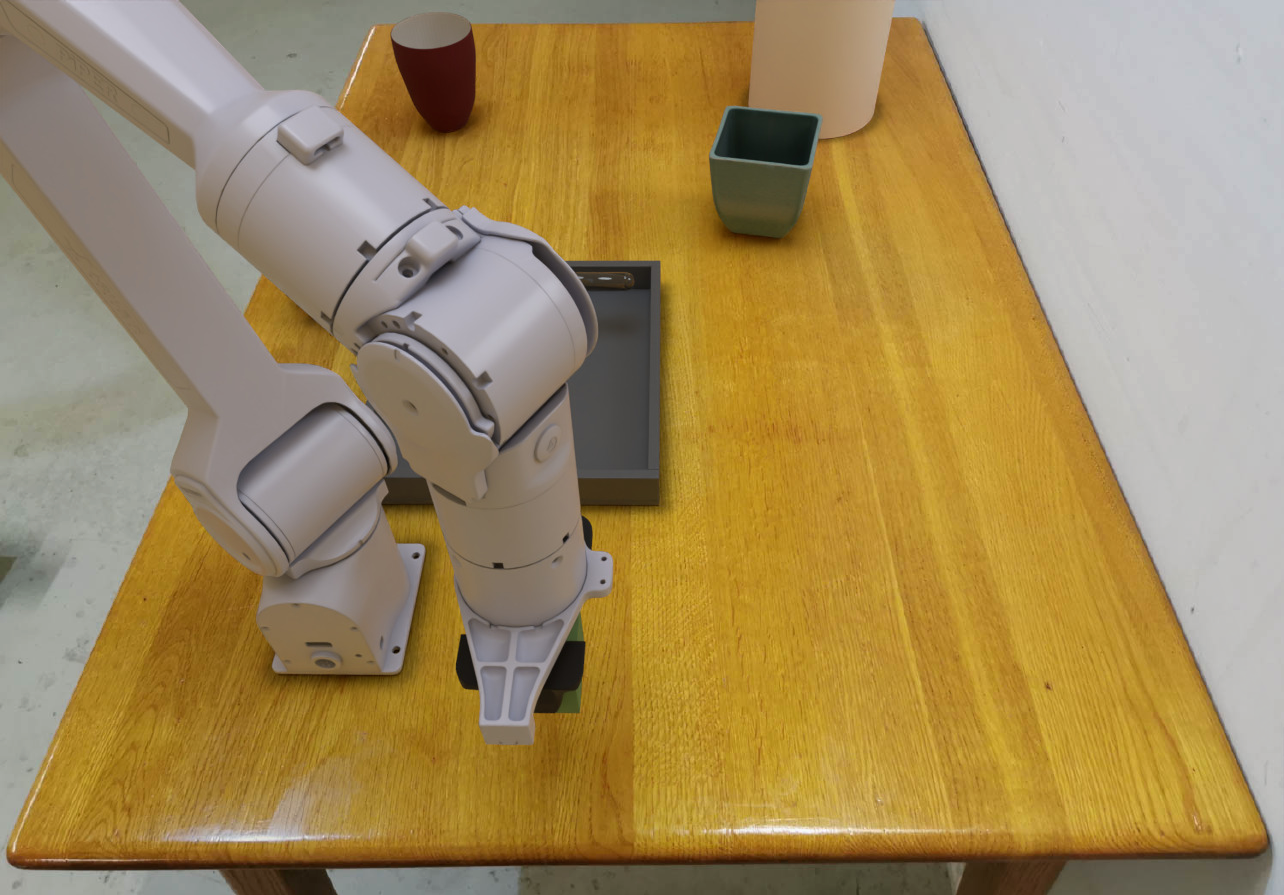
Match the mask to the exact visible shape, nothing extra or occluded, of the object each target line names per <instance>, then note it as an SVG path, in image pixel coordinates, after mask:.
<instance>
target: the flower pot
mask: <svg viewBox="0 0 1284 895" xmlns="http://www.w3.org/2000/svg"><path fill="white" fill-rule="evenodd" d="M822 122H823V117H822V115H820V114H814V113H806V112H792V111H781V110H772V109H759V108H750V107H749V106H740V105H727V106H726V107H725V108H724V110H723V114H722V117H721V119H720V123H719V126H718V129H717V132H716V135H715V138H714V140H713V143H712V145H711V148H710V151H709V154H708V162H709V176H710V185H711V194H712V200H713V201H712V202H713V204H714V208H715V210H716V213H717V215H718V217H719V219H720V220H721V222H722V223H723V225H724V226H725V227H726V228H727V230H728V231H729V232H730V233H733V234H739V235H740V234H741V235H750V236H758V237H766V238H772V239H773V238H774V239H783V238H784V237H786V236H787V235H788V234H789V233H790V232H791V230H792V229H793V228H794V227H795V225H796V224H797V222H798V220H799V219H800V216H801V214H802V211H803V208H804V205H805V201H806V197H807V193H808V188H809V185H810V180H811V175H812V170H813V167H814V162H815V157H816V152H817V148H818V143H819V140H820V139H819V135H820V130H821V126H822Z"/></svg>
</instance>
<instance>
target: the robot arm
mask: <svg viewBox="0 0 1284 895" xmlns="http://www.w3.org/2000/svg"><path fill="white" fill-rule="evenodd" d="M83 88H84V89H85V90H87V91H88V92H89V93H91V94H92V95H93V96H94V97H96V98H97V99H99V100H100V101H101V102H103V103H104V104H105V105H107V106H108V107H109V108H111V109H112V110H113V111H114V112H116V113H118V114H119V115H120V116H121V117H123V118H124V119H126V121H128V122H130V123H131V124H132V125H134V126H135V127H136V128H137V129H138V130H140V131H142V132H143V133H144V134H146V135H147V136H148V137H150V138H151V139H152V140H153V141H155V142H156V143H158V144H159V145H160V146H162V147H163V148H164V149H166V150H167V151H169V152H170V153H171V154H172V155H174V156H175V157H177V158H178V159H179V160H180V161H182V162H183V163H185V164H186V165H187V166H188V167H190V168H191V169H192V170H194V171H195V172H194V173H195V201H196V202H195V203H196V207H197V212H198V214H199V216H200V218H201V220H202V222H203V223H204V224H205V225H206V226H207V227H208V228H209V229H210V230H211V231H212V232H214V233H215V234H216V235H217V236H218V237H219V238H221V239H222V240H223V241H224V242H225V243H226V244H227V245H228V246H229V247H231V248H232V249H233V250H234V251H235V252H236V253H238V254H239V255H240V256H241V257H242V258H244V260H246V261H247V263H249V264H250V265H251V266H252V267H254V268H255V270H257V271H258V272H259V273H260V274H262V275H263V276H264V277H265V278H266V279H267V280H268V281H270V283H272V284H273V285H274V286H275V287H276V288H278V290H280V291H281V292H282V293H283V294H284V295H285V296H286V297H287V298H289V299H290V300H291V301H292V302H293V303H295V304H296V305H297V306H298V307H299V308H300V309H301V310H303V312H304V313H306V314H307V315H308V316H310V317H311V318H312V319H313V320H314V321H315V322H316V323H317V324H318V325H320V326H321V327H322V328H323V329H324V330H325V331H327V332H328V333H329V334H330V335H331V336H332V337H333V338H335V339H336V340H337V341H338V342H339V343H340V344H341V345H342V346H344V347H345V348H346V349H347V350H348V351H349V352H350V353H351V354H353V355H354V356H355V357H356V364H355V363H350V364H349V368H350V371H351V373H352V375H353V378H354V379H355V381H356V383H357V385H358V387H359V389H360V390H361V392H362V393H363V395H364V397H365V398H366V401H367V400H368V401H369V402H370V404H371V405H372V407H373V408H374V409H375V410H376V412H377V413H378V414H379V415H380V416H381V418H382V419H383V420H384V421H385V422H386V424H387V425H388V426H389V428H390V429H391V431H392V432H393V434H394V436H395V438H396V440H397V442H398V445H399V448H400V451H401V454H402V457H403V458H404V459H406V460H407V461H408V462H409V464H410V467H411V468H412V470H413V471H414V472H415V473H417V474H419V475H420V476H422V477H424V478H425V479H426V481H427V484H428V487H429V491H430V494H431V497H432V501H433V504H432V505H433V508H434V510H435V513H436V516H437V519H438V523H439V527H440V530H441V533H442V536H443V539H444V544H445V546H446V549H447V553H448V556H449V559H450V562H451V565H452V569H453V585H454V592H455V596H456V599H457V604H458V607H459V612H460V615H461V620H462V625H463V629H464V632H465V633H461V634H460V635H459V641H458V647H457V648H458V649H457V655H456V661H455V673H456V676H457V679H458V682H459V683H460V686H461V687H462V688H463V690H468V691H478V692H479V693H478V694H479V717H478V726H479V729H480V733H481V735H482V738H483V741H484V744H485V745H500V746H519V745H520V746H532V745H534V743H535V735H536V721H535V718H534V714H557V713H556V712H557V711H558V710H559V708H560V706H561V703H562V700H563V695H564V693H565V692H569V691H575V690H577V689H578V687H579V685H580V683H581V680H582V681H583V676H584V672H585V658H586V646H587V644H586V641H585V640H584V641H566V639H567V637H568V635H569V633H570V631H571V629H572V627H573V625H574V623H575V621H576V619H577V617H578V614H579V612H581V610H582V608H583V607H584V605H585V603H586V602H587V601H589V599H601V598H607V597H608V596H609V595H610V594H611V593H612V590H613V584H614V581H613V580H614V559H613V556H612V554H610V553H609V552H607V551H604V550H593V538H594V531H593V524H592V523H591V521H590V520H589V519H588V518H587V517H585V516H584V515H582V508H581V505H580V497H579V488H578V478H577V469H576V459H575V450H574V438H573V429H572V419H571V410H570V400H569V391H568V384H567V382H566V381H567V380H568V379H569V378H570V377H571V376H572V375H573V374H574V373H575V372H576V371H577V370H578V369H579V368H580V367H581V365H582V364H583V362H584V360H585V358H586V357H587V356H588V355H590V354H591V352H592V351H593V349H594V347H595V345H596V342H597V338H598V323H597V317H596V313H595V309H594V306H593V304H592V301H591V299H590V297H589V295H588V293H587V291H586V289H585V287H584V285H583V284H582V282H581V281H580V279H579V278H578V276H577V275H576V274H575V272H574V271H573V270H572V269H571V267H570V266H569V265H568V264H567V263H566V262H565V261H566V260H564V259H563V257H562V256H560V255H559V254H558V252H556V251H555V249H554V248H553V247H552V245H551V244H550V243H549V242H548V241H547V240H546V239H545V238H544V237H542V236H541V235H539V234H537V233H536V232H534V231H532V230H531V229H528V228H526V227H524V226H521V225H519V224H515V223H512V222H508V221H502V220H501V221H500V220H494V219H491V218H489V217H487V216H486V215H484V214H483V213H481V212H480V211H479V210H478V209H477V208H476V207H475V206H473V207H471V208H470V207H468V206H467V205H466V204H462V205H461V206H459V207H458V208H457V209H453V210H451V209H450V208H449V207H448V206H447V205H446V204H445V203H444V202H442V200H440V199H439V198H438V197H437V196H436V195H435V194H433V193H432V192H431V191H430V190H429V189H428V188H427V187H425V185H423V184H422V183H421V182H420V181H419V180H418V179H416V178H415V177H414V175H412V174H411V173H409V171H407V170H406V169H405V168H404V167H403V166H401V165H400V163H398V162H397V161H396V160H395V159H394V158H393V157H391V156H390V155H389V154H388V153H387V152H386V151H385V150H384V149H382V148H381V147H380V146H379V145H378V144H377V143H376V142H374V141H373V140H372V139H371V138H370V137H369V136H368V135H367V134H365V133H364V131H362V130H361V129H360V128H358V127H357V126H356V125H355V124H354V123H353V122H352V121H351V120H349V119H348V118H347V117H346V116H345V115H344V114H343V113H342V112H340V111H339V110H338V109H336V107H334V106H333V105H332V103H330V102H329V100H327V99H326V98H325V97H323V96H322V95H320V94H319V93H317V92H313V91H310V90H308V89H307V90H306V89H280V90H279V89H276V90H266V89H265V88H264V87H263V86H262V85H261V84H260V83H259V82H258V81H257V80H256V79H255V77H253V75H251V73H250V72H249V71H247V69H245V67H243V65H242V64H241V63H240V62H239V61H238V60H237V59H236V58H235V57H234V56H233V55H232V54H231V53H230V52H229V51H228V50H227V48H226V47H224V46H223V45H222V43H221V42H219V40H217V38H216V37H215V36H214V35H213V34H212V33H211V32H210V31H209V30H208V29H207V28H206V27H205V25H203V24H202V23H201V22H200V21H199V20H198V19H197V17H195V15H193V14H192V13H191V11H190V10H189V9H187V7H186V6H185V5H184V4H183V3H182V2H181V1H180V0H0V175H1V177H2V178H3V179H4V181H5V182H6V183H7V184H8V185H9V187H10V188H11V190H12V191H13V192H14V193H15V194H16V196H18V198H19V199H20V200H21V202H22V203H23V204H24V205H25V207H26V208H27V209H28V210H29V211H30V213H31V214H32V215H33V217H34V218H35V219H36V220H37V222H38V223H39V224H40V225H41V227H42V228H43V229H44V230H45V232H46V233H47V234H48V235H49V237H50V238H51V239H52V241H53V242H54V243H55V244H56V246H57V247H58V248H59V249H60V250H61V252H62V253H63V254H64V256H65V257H66V258H67V259H68V261H69V262H70V263H71V264H72V265H73V267H74V268H75V269H76V271H77V272H78V273H79V274H80V276H81V277H82V278H83V279H84V281H85V282H86V283H87V284H88V285H89V287H90V288H91V289H92V290H93V292H94V293H95V294H96V295H97V297H98V298H99V299H100V300H101V302H102V303H103V304H104V305H105V307H106V308H107V310H109V312H110V313H111V314H112V315H113V317H114V318H115V319H116V320H117V322H118V323H119V324H120V326H121V327H122V328H123V329H124V330H125V332H126V333H127V334H128V336H130V338H131V339H132V341H133V342H134V343H135V344H136V346H137V347H138V348H139V349H140V350H141V352H142V353H143V354H144V355H145V357H146V358H147V359H148V360H149V362H150V363H151V364H152V365H153V366H154V368H155V369H156V370H157V371H158V373H159V374H160V375H161V376H162V378H163V379H164V380H165V382H166V383H167V384H168V386H169V387H170V388H171V389H172V390H173V392H174V394H176V395H177V397H178V398H179V399H180V401H181V402H182V403H183V404H184V405H185V406H186V408H187V416H186V420H185V423H184V425H183V429H182V432H181V434H180V438H179V440H178V443H177V445H176V448H175V451H174V453H173V457H172V459H171V463H170V467H169V473H170V474H171V476H172V477H173V480H174V481H173V482H174V485H175V486H176V487H177V489H178V490H179V491H180V492H181V494H182V495H183V496H184V497H185V499H186V500H187V502H188V503H189V504H190V506H191V507H192V511H193V513H194V516H195V517H196V520H198V522H199V524H200V525H201V526H202V527H203V528H204V530H205V531H206V532H207V533H208V535H209V536H210V537H211V538H212V539H213V540H214V542H216V543H217V544H218V545H219V547H221V548H222V549H223V550H224V551H225V552H226V553H227V554H228V555H229V556H231V558H233V559H234V560H236V562H238V563H239V564H240V565H242V566H243V567H245V568H246V569H247V570H249V571H251V572H253V574H256V575H258V576H262V589H261V594H260V598H259V603H258V607H257V610H256V614H255V621H256V625H257V627H258V630H260V633H261V634H262V636H264V638H265V640H266V641H267V643H268V644H269V646H270V647H271V649H272V650H273V651H274V656H273V660H272V663H271V669H272V670H273V671H274V673H275V674H278V675H362V676H363V675H367V676H368V675H375V676H376V675H378V676H380V675H383V676H385V675H386V676H393V675H397V674H399V673H400V672H401V671H402V669H403V667H404V666H403V665H404V662H405V661H404V660H405V656H406V651H407V646H408V641H409V637H410V631H411V627H412V622H413V616H414V611H415V607H416V601H417V598H418V597H417V596H418V592H419V587H420V582H421V578H422V577H421V576H422V572H423V568H424V563H425V558H426V554H427V553H426V551H427V549H426V547H425V545H424V544H422V543H397V541H396V539H395V538H396V537H395V535H394V534H393V530H392V529H391V525H390V523H389V520H388V518H387V515H386V512H385V509H384V508H383V504H381V502H382V500H383V499H384V497H385V496H386V495H387V494H388V492H389V491H388V488H387V486H386V483H385V480H384V478H383V477H386V476H389V475H390V474H391V473H393V472H394V471H395V469H396V468H397V464H398V459H397V454H396V446H395V443H394V440H393V438H392V436H391V434H390V432H389V431H388V429H387V428H386V426H385V425H384V424H383V422H382V421H381V420H380V419H379V418H378V416H377V415H376V414H375V413H374V412H373V411H372V410H371V409H370V408H369V407H368V406H366V405H365V404H366V403H364V402H363V401H362V400H361V399H359V397H358V396H357V395H356V394H355V392H354V391H353V390H352V389H351V388H350V386H349V385H348V384H347V383H346V381H345V380H344V378H342V376H341V375H340V374H338V373H336V372H335V371H333V370H330V369H329V368H327V367H324V366H321V365H318V364H312V363H305V362H301V363H300V362H299V363H298V362H294V363H293V362H277V360H276V359H275V357H274V356H273V355H272V354H271V352H270V351H269V349H268V348H267V347H266V345H265V344H264V342H263V341H262V339H261V338H260V337H259V335H258V333H256V331H255V330H254V328H253V327H252V325H251V324H250V323H249V321H248V319H247V318H246V317H245V315H244V314H243V313H242V311H241V310H240V308H239V307H238V305H237V304H236V303H235V302H234V300H233V299H232V297H231V296H230V294H229V293H228V291H227V290H226V289H225V287H224V286H223V284H222V283H221V282H220V281H219V279H218V277H217V276H216V275H215V273H214V272H213V271H212V269H211V268H210V267H209V264H208V263H207V262H206V261H205V259H204V258H203V256H202V255H201V254H200V252H199V251H198V249H197V248H196V246H195V245H194V244H193V242H192V241H191V239H190V238H189V237H188V235H187V234H186V232H185V231H184V229H183V228H182V227H181V225H180V224H179V222H178V221H177V219H176V218H175V217H174V216H173V214H172V212H171V211H170V210H169V208H168V207H167V205H166V204H165V203H164V201H163V200H162V199H161V197H160V196H159V194H158V193H157V192H156V190H155V189H154V187H153V186H152V184H151V183H150V182H149V180H148V179H147V178H146V176H145V174H144V173H143V172H142V171H141V169H140V167H139V166H138V165H137V163H136V162H135V161H134V159H133V158H132V156H131V155H130V154H129V152H128V151H127V149H126V148H125V146H124V144H122V142H121V141H120V139H119V138H118V136H117V135H116V134H115V132H114V130H113V129H112V128H111V126H110V125H109V124H108V123H107V121H106V120H105V118H104V117H103V116H102V114H101V113H100V111H99V110H98V109H97V107H96V106H95V104H94V103H93V102H92V100H91V99H90V97H89V96H88V94H87V93H86V92H85V90H84V89H83ZM417 556H418V557H417ZM416 557H417V558H416ZM396 650H399V652H397V653H394V652H395V651H396Z"/></svg>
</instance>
